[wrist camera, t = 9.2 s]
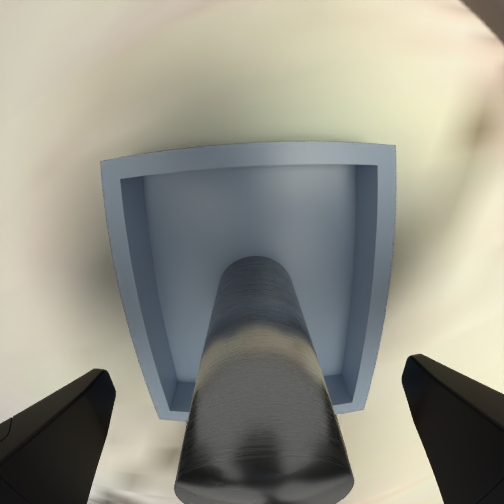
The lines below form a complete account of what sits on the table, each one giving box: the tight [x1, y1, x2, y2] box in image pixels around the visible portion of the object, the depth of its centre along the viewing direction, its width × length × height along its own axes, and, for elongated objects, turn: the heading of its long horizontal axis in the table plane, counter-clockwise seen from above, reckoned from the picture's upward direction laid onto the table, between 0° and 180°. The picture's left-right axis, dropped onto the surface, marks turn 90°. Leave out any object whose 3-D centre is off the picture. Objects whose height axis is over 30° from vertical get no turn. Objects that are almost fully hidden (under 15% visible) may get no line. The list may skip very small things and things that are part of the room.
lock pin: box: [174, 256, 354, 504], centre depth 9 cm, size 4×4×10 cm
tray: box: [100, 141, 396, 421], centre depth 13 cm, size 13×11×3 cm
